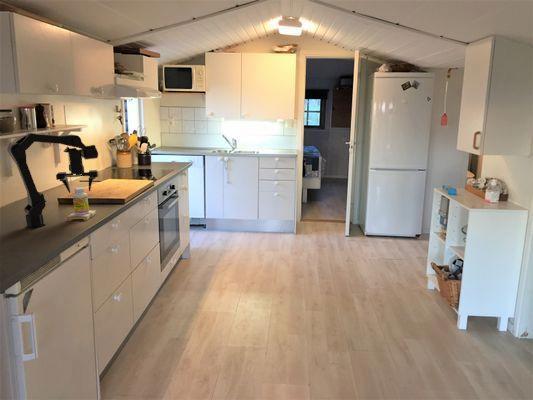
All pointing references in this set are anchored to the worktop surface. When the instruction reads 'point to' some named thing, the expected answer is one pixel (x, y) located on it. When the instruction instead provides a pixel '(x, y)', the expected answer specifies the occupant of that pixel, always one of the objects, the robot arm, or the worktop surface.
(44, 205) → the robot arm
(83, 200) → the supplement bottle
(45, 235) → the worktop surface
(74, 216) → the birch stand
